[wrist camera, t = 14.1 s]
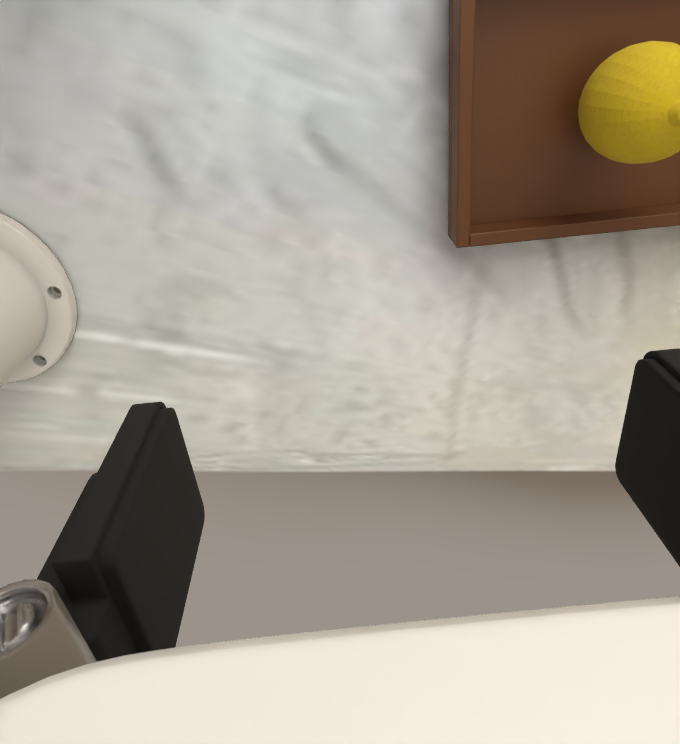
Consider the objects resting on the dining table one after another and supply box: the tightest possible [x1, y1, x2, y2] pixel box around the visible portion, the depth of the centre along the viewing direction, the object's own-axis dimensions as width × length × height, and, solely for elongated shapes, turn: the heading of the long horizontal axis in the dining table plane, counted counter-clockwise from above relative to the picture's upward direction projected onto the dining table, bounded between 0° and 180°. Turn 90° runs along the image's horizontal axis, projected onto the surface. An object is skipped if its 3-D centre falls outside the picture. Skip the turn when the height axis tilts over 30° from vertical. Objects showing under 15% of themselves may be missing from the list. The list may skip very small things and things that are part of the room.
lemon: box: [578, 41, 680, 164], centre depth 28 cm, size 6×6×8 cm
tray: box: [448, 0, 680, 248], centre depth 31 cm, size 18×15×3 cm
